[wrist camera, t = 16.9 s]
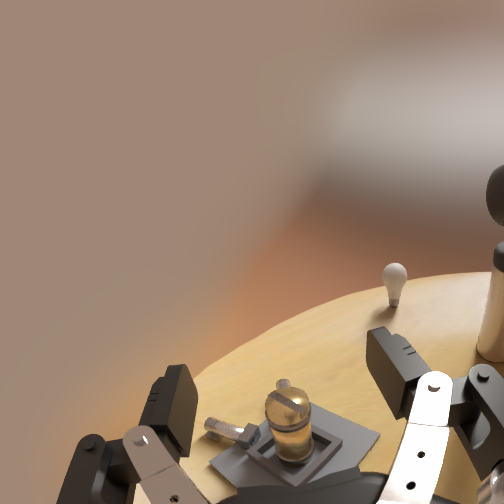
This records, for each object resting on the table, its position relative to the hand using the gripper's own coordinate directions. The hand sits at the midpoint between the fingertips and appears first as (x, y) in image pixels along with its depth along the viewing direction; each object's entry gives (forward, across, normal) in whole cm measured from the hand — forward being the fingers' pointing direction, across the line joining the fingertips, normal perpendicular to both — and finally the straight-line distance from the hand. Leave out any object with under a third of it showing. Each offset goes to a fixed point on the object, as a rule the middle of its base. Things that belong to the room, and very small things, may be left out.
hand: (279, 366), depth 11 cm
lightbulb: (+44, -30, +28) cm, 60 cm away
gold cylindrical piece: (+11, 0, +27) cm, 29 cm away
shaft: (+16, +9, +28) cm, 33 cm away
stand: (+11, 0, +28) cm, 30 cm away
